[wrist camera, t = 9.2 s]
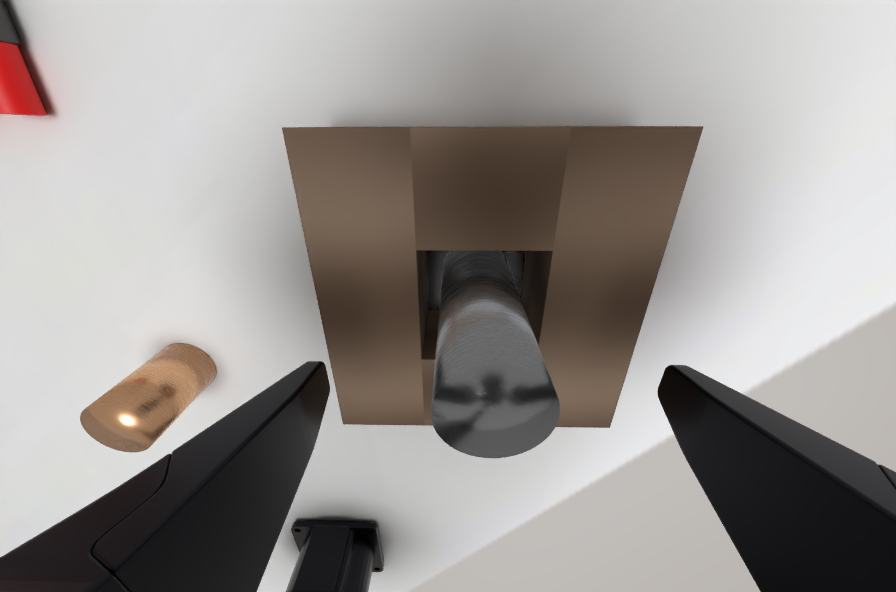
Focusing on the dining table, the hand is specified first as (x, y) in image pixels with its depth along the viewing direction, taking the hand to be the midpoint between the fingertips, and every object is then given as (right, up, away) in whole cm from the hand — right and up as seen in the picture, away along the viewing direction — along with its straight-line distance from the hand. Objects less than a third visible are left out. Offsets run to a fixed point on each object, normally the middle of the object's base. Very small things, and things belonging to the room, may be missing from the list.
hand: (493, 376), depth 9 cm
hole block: (0, +3, +7) cm, 8 cm away
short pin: (-16, -2, +10) cm, 19 cm away
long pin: (0, +3, +7) cm, 8 cm away
